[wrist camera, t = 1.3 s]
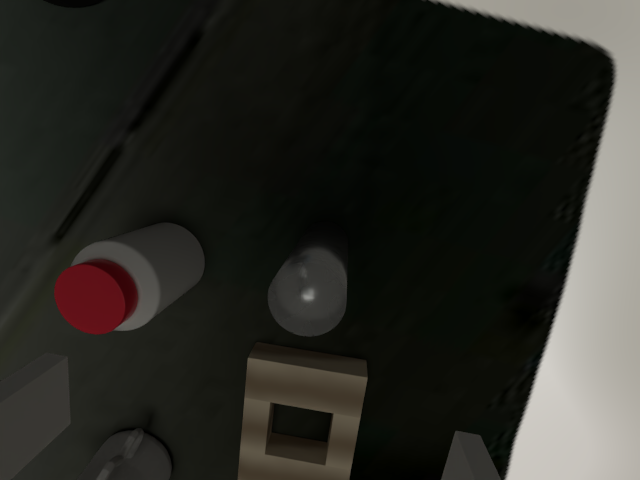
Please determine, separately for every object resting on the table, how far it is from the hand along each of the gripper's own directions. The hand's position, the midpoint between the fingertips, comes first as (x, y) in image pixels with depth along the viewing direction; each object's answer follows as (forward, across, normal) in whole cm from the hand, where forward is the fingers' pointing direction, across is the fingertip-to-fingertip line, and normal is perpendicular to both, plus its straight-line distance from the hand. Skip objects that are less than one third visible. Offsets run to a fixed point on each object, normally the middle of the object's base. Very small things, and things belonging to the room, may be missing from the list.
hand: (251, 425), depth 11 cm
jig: (+23, +1, -19) cm, 30 cm away
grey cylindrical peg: (+23, +1, +1) cm, 23 cm away
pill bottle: (+23, -15, -4) cm, 28 cm away
